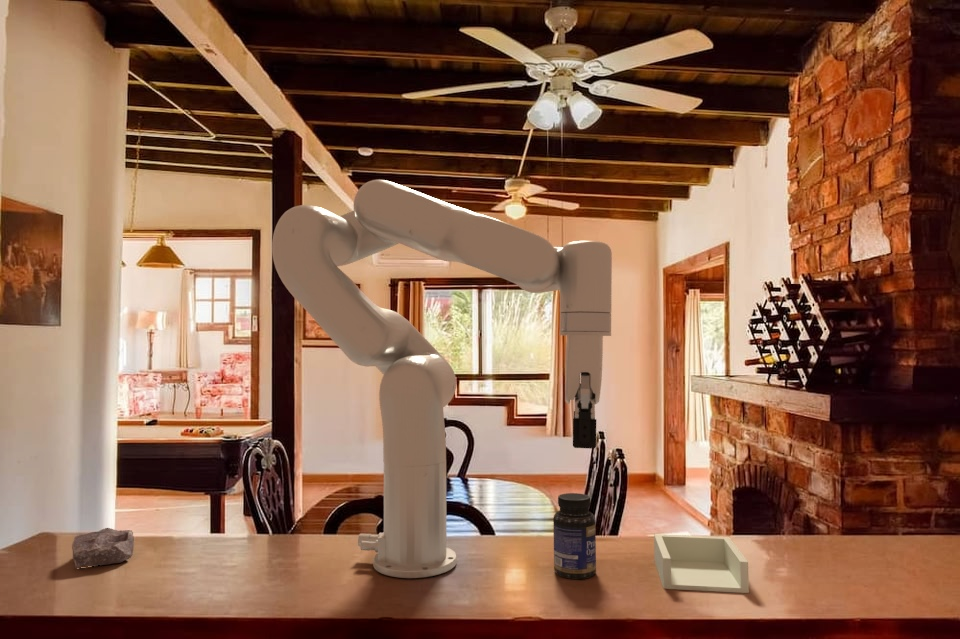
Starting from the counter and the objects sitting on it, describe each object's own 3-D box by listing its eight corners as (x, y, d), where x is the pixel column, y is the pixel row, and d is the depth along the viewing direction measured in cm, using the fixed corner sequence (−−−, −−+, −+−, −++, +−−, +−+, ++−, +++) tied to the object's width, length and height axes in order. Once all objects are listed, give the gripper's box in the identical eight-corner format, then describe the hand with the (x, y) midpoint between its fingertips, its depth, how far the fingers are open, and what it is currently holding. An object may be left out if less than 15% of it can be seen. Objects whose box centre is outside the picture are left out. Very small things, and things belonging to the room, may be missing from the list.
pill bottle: (595, 581, 89) (594, 502, 90) (552, 578, 91) (551, 500, 91) (596, 566, 95) (595, 492, 96) (555, 564, 97) (554, 490, 97)
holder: (663, 588, 87) (663, 558, 87) (654, 561, 98) (654, 534, 98) (748, 593, 85) (748, 562, 85) (729, 564, 96) (729, 537, 96)
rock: (137, 544, 108) (137, 517, 108) (131, 566, 97) (131, 536, 97) (81, 552, 104) (81, 523, 105) (68, 575, 94) (68, 544, 94)
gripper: (561, 327, 103) (560, 433, 103) (557, 324, 86) (556, 451, 86) (608, 327, 102) (607, 435, 101) (614, 324, 85) (613, 453, 84)
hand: (584, 442), depth 93 cm, fingers open, 9 cm apart
